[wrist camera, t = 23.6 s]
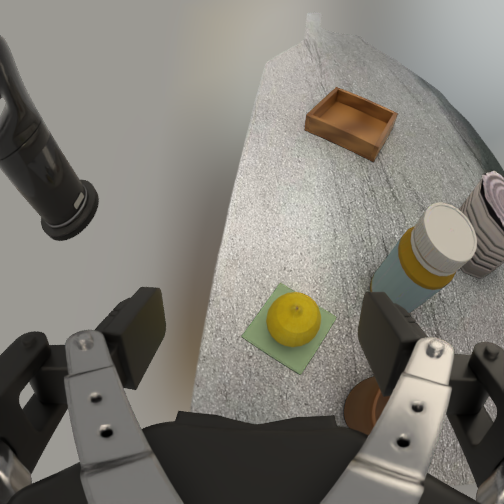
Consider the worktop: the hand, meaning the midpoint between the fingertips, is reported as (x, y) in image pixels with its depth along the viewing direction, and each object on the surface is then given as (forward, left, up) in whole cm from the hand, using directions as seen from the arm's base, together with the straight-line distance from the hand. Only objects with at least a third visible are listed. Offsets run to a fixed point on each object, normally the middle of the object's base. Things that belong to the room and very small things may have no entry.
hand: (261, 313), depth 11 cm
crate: (-9, +44, -23) cm, 50 cm away
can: (+19, +32, -23) cm, 44 cm away
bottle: (+9, +17, -23) cm, 30 cm away
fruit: (0, +6, -22) cm, 23 cm away
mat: (0, +6, -23) cm, 23 cm away
